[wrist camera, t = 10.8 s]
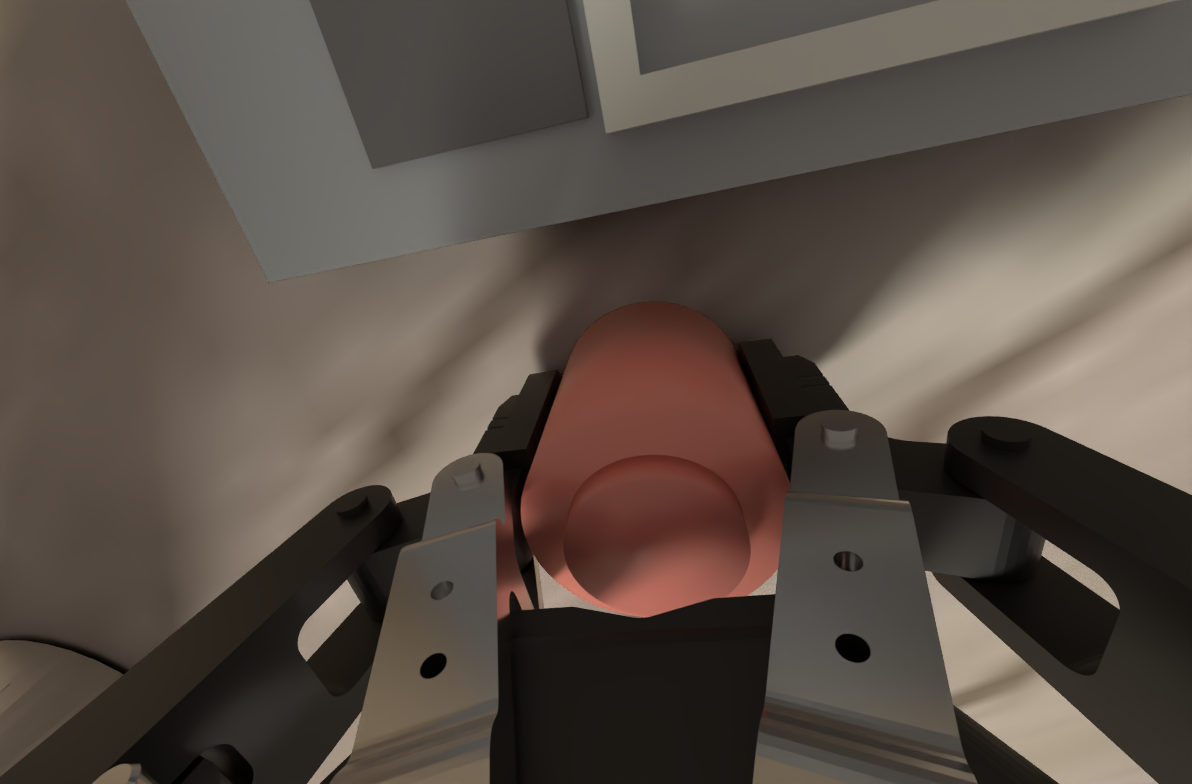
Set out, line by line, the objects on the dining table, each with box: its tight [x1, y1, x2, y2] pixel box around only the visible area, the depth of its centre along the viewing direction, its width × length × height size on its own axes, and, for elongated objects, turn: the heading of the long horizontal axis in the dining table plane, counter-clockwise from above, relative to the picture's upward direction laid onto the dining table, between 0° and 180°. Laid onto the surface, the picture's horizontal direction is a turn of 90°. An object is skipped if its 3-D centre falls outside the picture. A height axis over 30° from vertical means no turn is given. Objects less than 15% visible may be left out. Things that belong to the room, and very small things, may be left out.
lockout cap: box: [521, 302, 790, 617], centre depth 10 cm, size 4×4×6 cm
